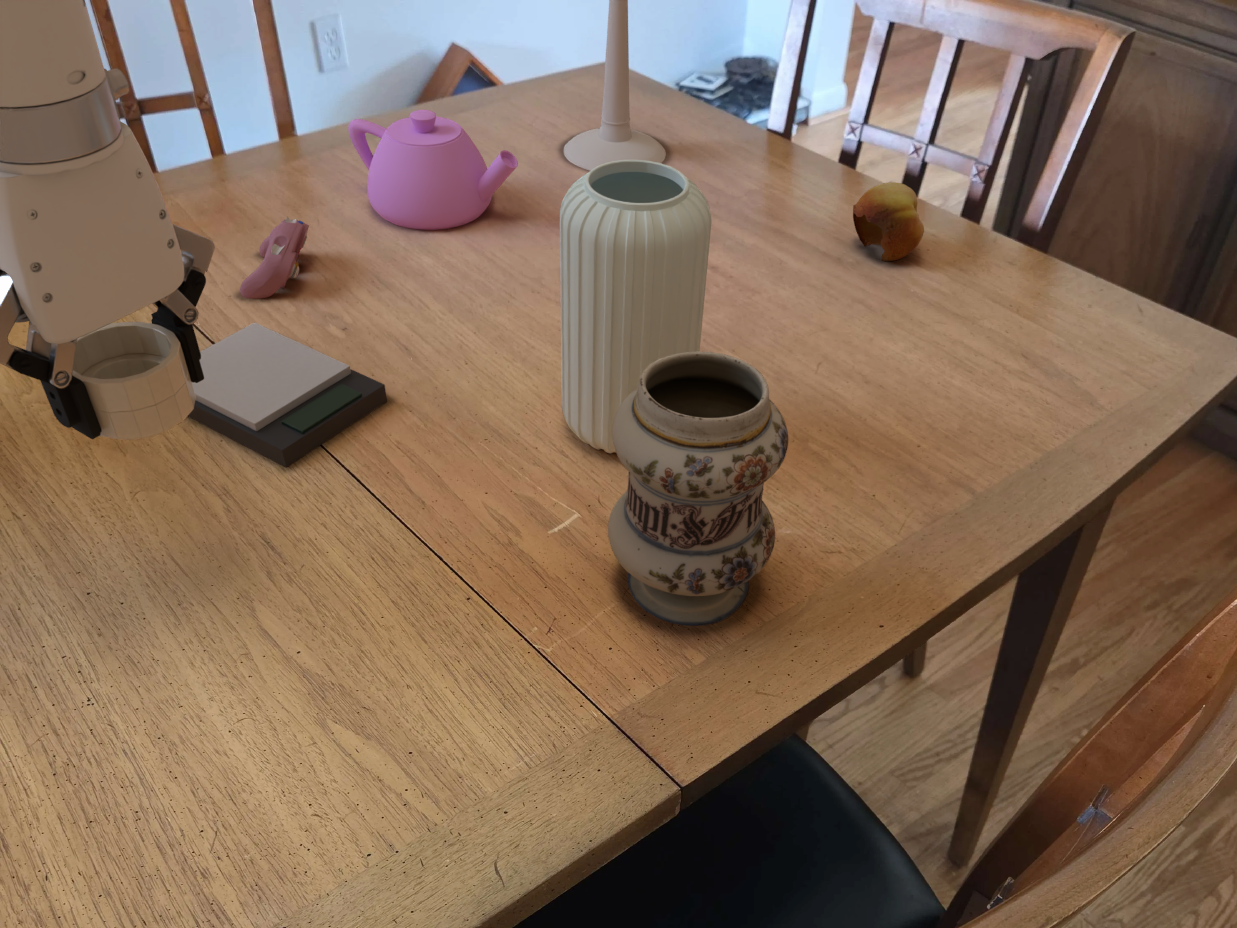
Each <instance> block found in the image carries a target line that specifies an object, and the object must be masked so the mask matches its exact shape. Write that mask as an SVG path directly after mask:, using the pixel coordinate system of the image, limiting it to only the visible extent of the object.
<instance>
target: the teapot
mask: <svg viewBox="0 0 1237 928" xmlns="http://www.w3.org/2000/svg"><path fill="white" fill-rule="evenodd" d="M347 130H348V134H349V138H350V141H351V144H352V145H353V148H354V149H355V151H356V153H357V154H358V156H359V158H360V159H361V161H362V162H363V164H364V166H365V168H367V170H368V176H367V198H368V201H369V203H370V205H371V207H372V208H373V210H374V211H375V212H376V213H377V214H378V216H380V217H381V218H383V219H384V220H385V221H387V222H389V223H391V224H393V225H396V226H398V227H402V228H407V229H413V230H421V231H423V230H424V231H437V230H447V229H453V228H458V227H460V226H464V225H467V224H469V223H471V222H473V221H476V220H477V219H478V218H479V217H481V216H482V215H483V214H484V212H485V211H486V210H487V208H488V207H489V205H490V203H491V202H492V198H493V195H494V193H495V192H496V191H497V190H498V189H499V188H500V187H501V186H502V184H504V182H505V181H506V180H507V179H508V178H509V177H510V176H511V174H512V173H513V172H514V171H515V170H516V169H517V168H518V166H519V161H518V159H517V157H516V156H515V155H514V154H513V153H512V151H511V152H510V151H509V150H506V149H503V150H501V151H500V152H499V153H498V155H497V156H496V157H495V159H493V161H492V163H491V164H490V165H489V166H487V164H486V162H485V159H484V157H483V156H482V154H481V152H480V150H479V149H478V147H477V146H476V144H475V143H474V141H473V139H471V136H469V134H468V133H467V132H466V130H465V129H464V128H463V127H462V125H460V124H459V123H458V122H456V121H455V120H452V119H450V118H447V117H443V116H437V113H436V112H434V111H433V110H429V109H416V110H414V111H412V112H410V113H409V116H408V117H404V118H401V119H397V120H396V121H394V122H392V123H390V125H389V126H388V127H387V128H386V127H384V126H382V125H380V124H378V123H375V122H373V121H370V120H366V119H363V118H355V119H352V120H351V121H350V122H349V123H348V127H347ZM366 134H370V135H372V136H375V137H377V138H380V140H379V141H378V143H377V147H376V149H375V151H374V153H372V151H371V149H370V146H369V143H368V140H367V138H366Z"/></svg>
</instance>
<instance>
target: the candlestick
mask: <svg viewBox="0 0 1237 928" xmlns="http://www.w3.org/2000/svg"><path fill="white" fill-rule="evenodd" d="M607 13H608V15H607V29H606V44H605V45H606V46H605V61H604V76H603V92H602V105H601V116H600V120H601V121H600V127H597V128H593V129H589V130H585V131H582V132H581V133H578V134H577V135H575V136H574V137H572V138H571V139H570V140H568V141H567V142H566V143H565V145H564V147H563V150H562V152H563V155H564V157H565V158H566V160H568V161H569V162H570V164H573V165H575V166H577V167H579V168H581V169H584V170H586V171H589V172H590V171H591V170H592V169H594V168H595V167H597V166H599V165H602V164H605V163H608V162H612V161H619V160H646V161H653V162H658V163H662V164H663V162H664V161H665V159H666V157H667V153H666V149H665V148H664V147H663V146H662V144H661V143H660V142H659V141H658V140H656V139H655V138H653V137H652V136H650V135H648V134H646V133H644V132H641V131H639V130H635V129H632V128H631V122H630V121H631V117H630V112H631V111H630V63H629V62H630V55H629V54H630V53H629V0H608V12H607Z"/></svg>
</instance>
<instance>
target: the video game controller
mask: <svg viewBox="0 0 1237 928" xmlns="http://www.w3.org/2000/svg"><path fill="white" fill-rule="evenodd" d="M309 227H310V224H308V223H305V222H304V221H302V220H298V219H297V218H295V219H291V218H290V217H289V216H286V218H285V219H283V220H282V221H281V222H280V223H279V224H278V225H276V226H275V227H274V228H273V229H272V230H271V231H270V232H269V235H268V236H267V237H266V238H264V239H263V241H262V242H261V244H260V246H259V254H260V257H262V258H263V260H262V261H261V263H260V264H259V266H258V267H256V269H254V270H253V272H252V273H250V274H249V275H248V276H246V277H245V278H244V279H243V280H242V283H241V284H240V287H239V291H240V292H239V293H240V296H241V297H242V298H246V299H252V300H253V299H255V300H257V299H268V298H270V297H271V296H273V295H274V294H275V293H276V292H278V290H279V289H282V290H284V289H285V288H286V287H285V286H286V284H287V282H288V281H289V279H290V278H291V277H292V276H293V279H295V278H296V277H298V276H299V273H300V266H299V263H298V261H297V260H298V257H299V255H300V252H301V250H302V249H304V246H305V244H306V241H307V239H308V236H307V234H308V230H309Z"/></svg>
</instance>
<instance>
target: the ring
mask: <svg viewBox="0 0 1237 928" xmlns="http://www.w3.org/2000/svg"><path fill="white" fill-rule="evenodd" d="M72 375H73V376H74V377H76V378H78V379H80V380H81V381H82V382H83V383H84V384H85V386H86V389H87V392H88V394H89V397H90V400H91V403H92V405H93V408H94V411H95V413H96V416H97V419H98V422H99V424H100V427H101V430H102V432H101V433H100V436H99V437H102V438H108V439H112V440H121V441H135V440H143V439H148V438H153V437H156V436H160V435H161V434H163V433H166V432H168V431H170V430H172V429H173V428H175V427H176V426H177V425H179V424H181V423H182V422H184V421H185V420H186V418H187V417H188V415H189V414H190V413H191V412H192V410H193V409H194V404H195V398H196V396H195V393H194V389H193V386H192V382H191V379H190V375H189V372H188V368H187V365H186V361H185V358H184V354H183V351H182V347H181V344H180V342H179V340H178V339H177V337H176V335H175V334H174V333H173V332H172V331H170V330H168V329H166V328H164V327H162V326H160V325H157V324H152V322H151V323H150V322H145V321H120V322H119V321H118V322H117V321H116V322H113V323H111V324H108V325H106V326H104V327H102V328H100V329H98V330H95V331H93V332H91V333H89V334H87V335H85V336H82V337H80V338H78V339H77V344H76V352H75V359H74V366H73V373H72Z"/></svg>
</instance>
